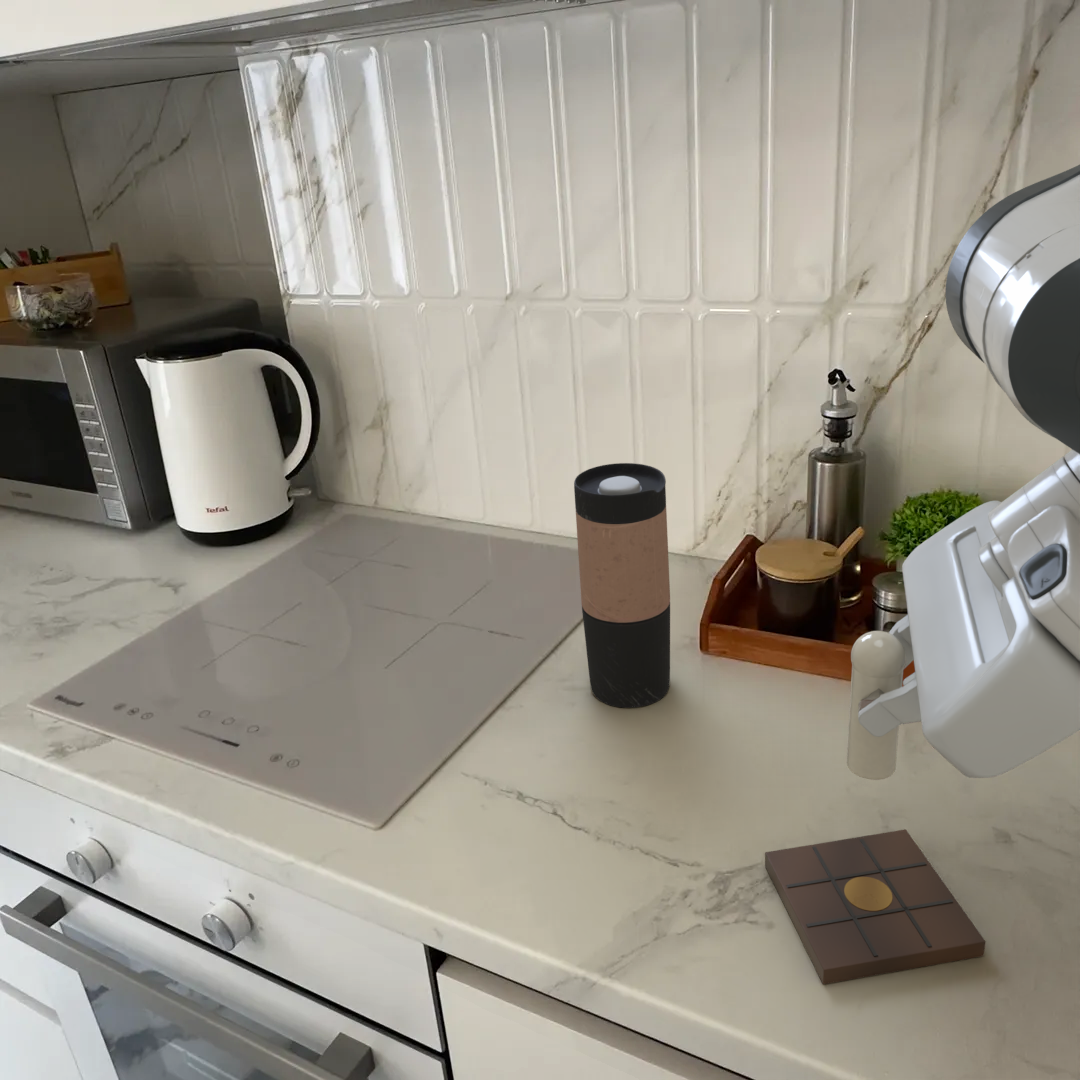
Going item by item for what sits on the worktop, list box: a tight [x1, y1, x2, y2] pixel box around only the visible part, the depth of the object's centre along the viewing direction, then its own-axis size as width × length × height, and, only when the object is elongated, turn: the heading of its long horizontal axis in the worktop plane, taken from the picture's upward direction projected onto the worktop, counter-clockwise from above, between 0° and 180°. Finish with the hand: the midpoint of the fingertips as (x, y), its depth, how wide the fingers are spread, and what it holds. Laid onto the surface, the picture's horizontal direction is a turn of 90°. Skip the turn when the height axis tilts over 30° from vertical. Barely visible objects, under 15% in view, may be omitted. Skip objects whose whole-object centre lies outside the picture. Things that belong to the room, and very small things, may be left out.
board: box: [764, 829, 986, 985], centre depth 62 cm, size 10×10×1 cm
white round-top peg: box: [846, 630, 906, 781], centre depth 57 cm, size 3×3×9 cm
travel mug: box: [573, 462, 671, 709], centre depth 84 cm, size 8×8×20 cm
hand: (864, 701), depth 57 cm, fingers closed on white round-top peg, 3 cm apart
